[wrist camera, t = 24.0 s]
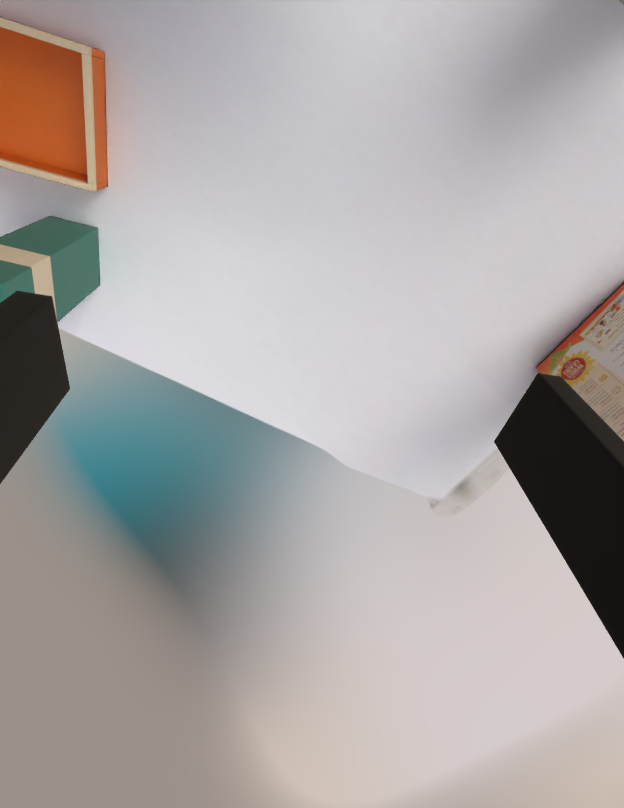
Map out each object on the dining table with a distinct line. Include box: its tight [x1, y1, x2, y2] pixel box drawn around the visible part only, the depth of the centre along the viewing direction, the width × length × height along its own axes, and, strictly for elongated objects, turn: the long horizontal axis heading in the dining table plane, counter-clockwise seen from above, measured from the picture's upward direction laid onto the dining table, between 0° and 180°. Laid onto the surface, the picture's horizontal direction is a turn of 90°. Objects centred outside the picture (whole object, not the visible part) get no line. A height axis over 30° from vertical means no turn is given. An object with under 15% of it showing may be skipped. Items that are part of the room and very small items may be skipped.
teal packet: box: [0, 216, 100, 322], centre depth 35 cm, size 6×5×16 cm
